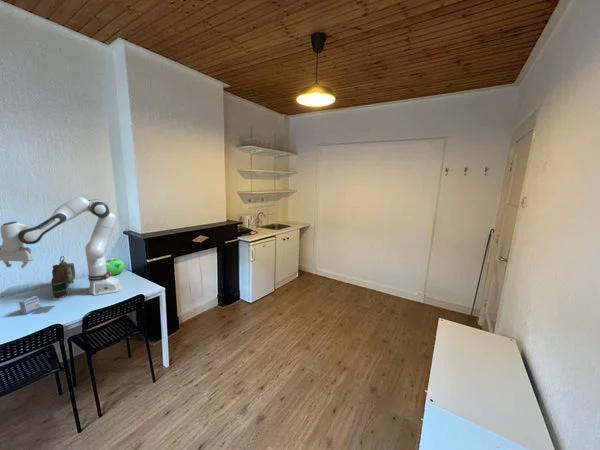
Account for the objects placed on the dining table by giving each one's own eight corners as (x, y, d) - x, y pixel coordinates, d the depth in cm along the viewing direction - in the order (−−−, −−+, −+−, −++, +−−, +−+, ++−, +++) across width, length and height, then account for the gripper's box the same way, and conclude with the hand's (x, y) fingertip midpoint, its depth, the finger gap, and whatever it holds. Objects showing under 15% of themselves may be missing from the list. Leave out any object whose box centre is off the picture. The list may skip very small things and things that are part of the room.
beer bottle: (55, 298, 186) (50, 268, 181) (52, 295, 190) (46, 265, 185) (69, 294, 192) (64, 265, 187) (65, 292, 196) (60, 262, 191)
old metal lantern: (69, 288, 201) (64, 258, 196) (54, 290, 198) (49, 260, 193) (76, 281, 214) (72, 253, 209) (62, 282, 211) (58, 254, 206)
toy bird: (126, 269, 243) (124, 255, 240) (124, 276, 228) (122, 260, 225) (102, 272, 234) (100, 257, 231) (99, 279, 219) (97, 263, 216)
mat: (55, 305, 177) (55, 305, 177) (47, 312, 168) (47, 312, 168) (40, 307, 174) (40, 306, 174) (31, 314, 166) (31, 313, 166)
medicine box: (26, 314, 165) (23, 302, 163) (21, 313, 166) (18, 301, 164) (41, 308, 173) (38, 296, 171) (36, 307, 174) (33, 295, 172)
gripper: (35, 246, 168) (37, 266, 170) (2, 244, 167) (5, 264, 169) (25, 248, 161) (28, 269, 164) (-9, 247, 160) (-6, 268, 163)
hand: (16, 267), depth 167 cm, fingers open, 8 cm apart
